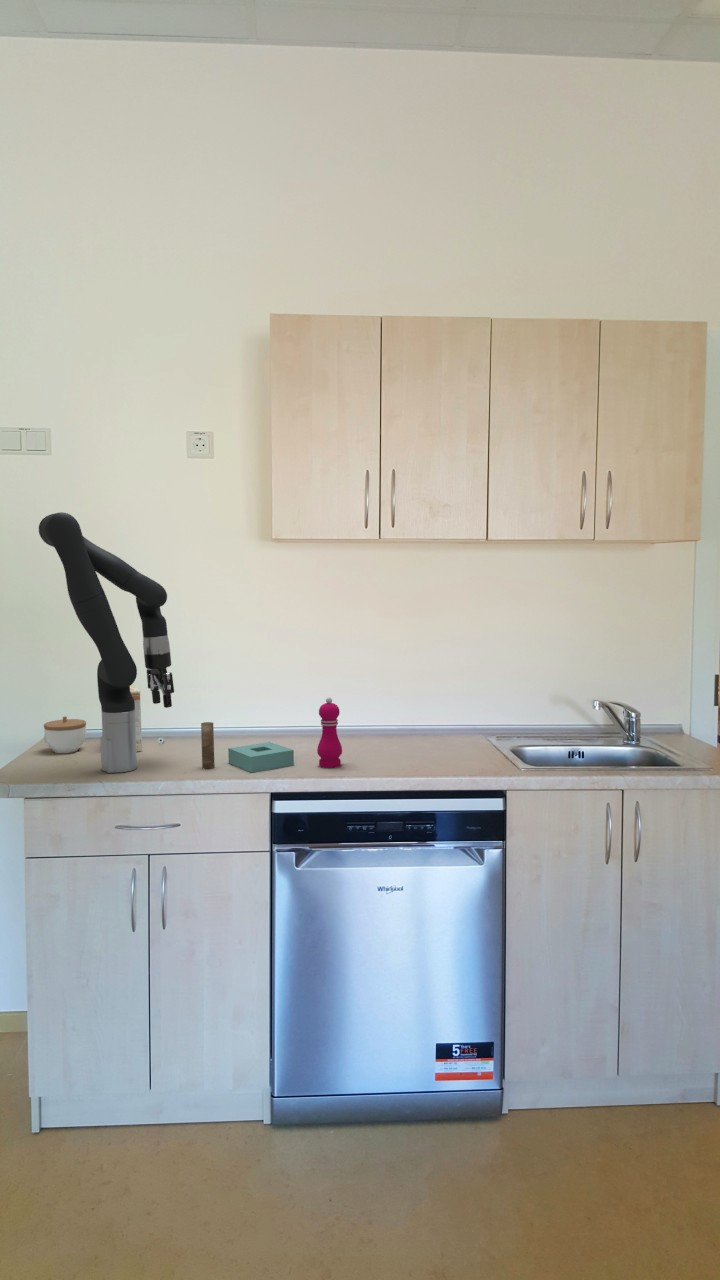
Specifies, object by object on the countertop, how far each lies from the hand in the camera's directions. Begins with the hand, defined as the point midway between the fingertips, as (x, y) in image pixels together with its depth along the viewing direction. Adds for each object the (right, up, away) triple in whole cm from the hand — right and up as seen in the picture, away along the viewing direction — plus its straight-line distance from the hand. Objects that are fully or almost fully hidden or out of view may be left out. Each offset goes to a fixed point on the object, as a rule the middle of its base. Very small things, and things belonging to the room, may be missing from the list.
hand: (162, 705), depth 241 cm
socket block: (+30, -17, -2) cm, 34 cm away
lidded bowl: (-35, -16, +18) cm, 43 cm away
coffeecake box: (-16, -16, +22) cm, 31 cm away
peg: (+15, -18, -5) cm, 24 cm away
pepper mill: (+50, -17, -5) cm, 53 cm away
